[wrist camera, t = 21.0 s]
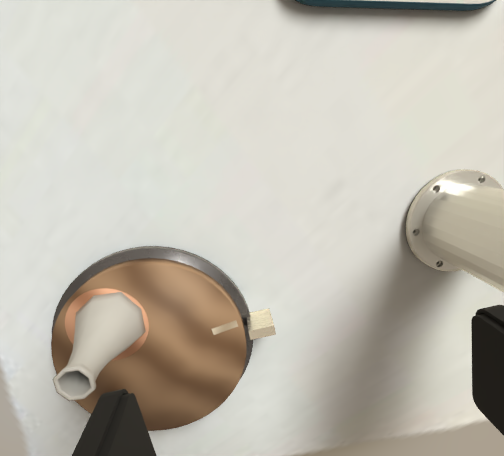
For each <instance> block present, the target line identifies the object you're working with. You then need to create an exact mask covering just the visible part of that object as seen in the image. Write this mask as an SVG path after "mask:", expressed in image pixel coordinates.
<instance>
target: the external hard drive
mask: <svg viewBox="0 0 504 456" xmlns="http://www.w3.org/2000/svg"><path fill="white" fill-rule="evenodd" d="M296 1H298V2H300V3H302V4H306V5H310V6H319V7H353V8H388V9H422V10H456V11H466V10H475V9H480V8H482V7H485V6H487V5H490V4H491V3H493V2H494V1H496V0H296Z"/></svg>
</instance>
